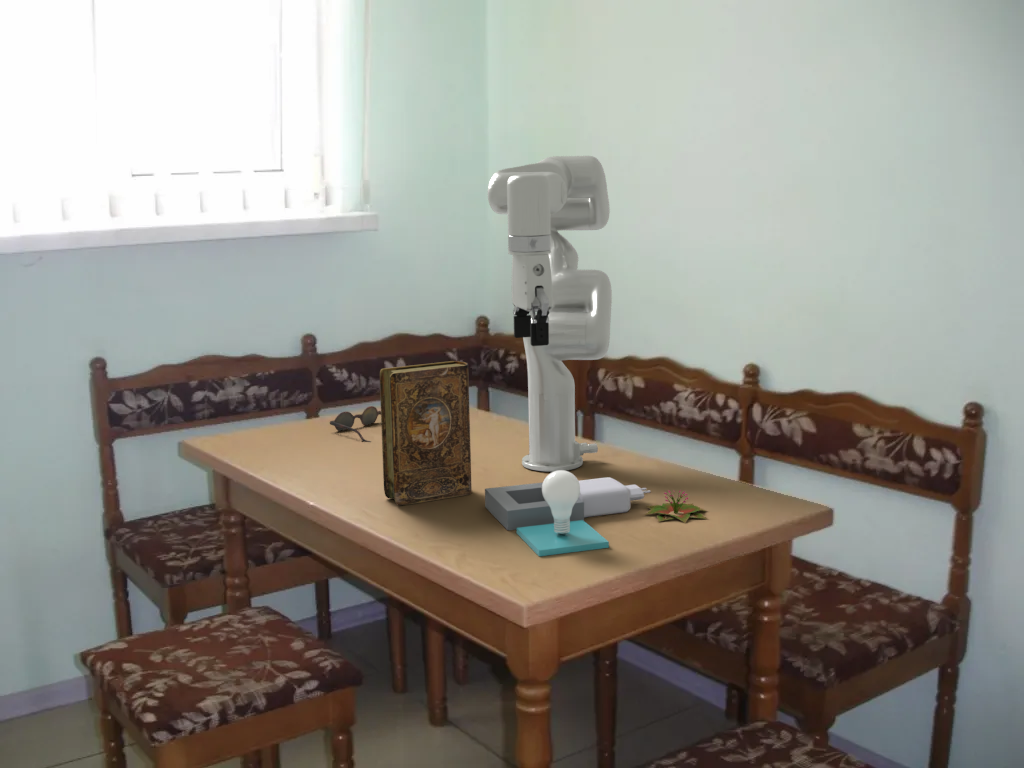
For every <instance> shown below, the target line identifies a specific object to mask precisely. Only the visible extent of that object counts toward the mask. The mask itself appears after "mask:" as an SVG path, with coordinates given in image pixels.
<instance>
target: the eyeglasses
mask: <svg viewBox="0 0 1024 768" xmlns="http://www.w3.org/2000/svg"><path fill="white" fill-rule="evenodd" d="M379 415H380V416H381V410H378V409H377V407H376V406H373V405H372V406H367V407H366V408H365V409H364V410H363V411H362V413H361V414H355V415H353V414H352V413H351V412H350V411H341V412H340V413H338V415H337V416H336V417H335V419H334V420H329V425H330V426H334V428H335V430H337V431H338V432H341V430H342V431H346V429H348V430H349V431H351V432H355V433H356V434H357V435H358V436H359V438H360V440H361V441H362V442H364V443H372V441H371V440H367V439H365V438H364V437H363V436H362V434H361V431H359V430H357V429H355V428H352V427H353V426H354V424H355V419H356V418H357V419H359V420H360V421H361V424H362V426H364V425H366V426H368V424H369V425H372V424H371V423H374V424H375V423H376V421H377V419H378V417H379Z"/></svg>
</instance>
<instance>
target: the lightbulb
mask: <svg viewBox="0 0 1024 768" xmlns="http://www.w3.org/2000/svg"><path fill="white" fill-rule="evenodd" d="M579 481H580V480H579V479H578V478H577V476H576V475H574V473H573V472H570V471H569V470H566V471H565V470H557V471H554V472H550V473H549V474H547V475H546V477H544V479H543V481H542V482H543V484H542V494H543V497H544V499H545V501H546V502H547V504H548V505H549V507H550V509H551V512H552V516H553V517H554V526H555V527H554V532H556V533H557V534H559V535H565V534H567V533H568V532H570V516H571V513H572V508H573V506H574V504H575V503H576V501H577V500H578V498H579V495H580V484H579Z"/></svg>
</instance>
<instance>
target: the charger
mask: <svg viewBox="0 0 1024 768" xmlns="http://www.w3.org/2000/svg"><path fill="white" fill-rule="evenodd" d="M578 481H579V484H580V495H579V499H581V500H582V501H583V502H584V519H585V518H590V517H601V516H605V515H607V516H608V515H614V514H622V513H627V512H628V511H629V510H630V509H631V502H634V501H641V500H643V499H644V498H645V494H648V493H651V491H652V490H650V489H649V490H647V487H642V488H641V487H639V486H638V485H637V484H629V485H624V484H623V483H622V482H620V481H619V480H616V479H615V478H613V477H610V476H609V477H607V476H606V477H599V478H592V479H591V478H590V479H584V480H582V479H581V480H578Z"/></svg>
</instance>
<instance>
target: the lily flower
mask: <svg viewBox="0 0 1024 768" xmlns="http://www.w3.org/2000/svg"><path fill="white" fill-rule="evenodd" d="M667 492H668V493H669V494H668V493H667ZM667 492H663V494H665V496H664V497H665V502H663V503H662V504H655V505H645V507H646V508H649V510H648V511H647V513H644V514H643V515H645V516H646V515H651V514H657V516H656V518H657V523H658V522H663V521H668V520H676V519H677V520H680V521H681V522H683V523H684V524H686V523H687V521H688V519H692V518H693V519H702V520H703V519H705V520H708V518H707V517H706V516H705V515H704V514H702V513H700V512H707V510H705V509H704V508H701V507H699V506H697V505H695V504H694V503H686V502H687V500H688V499H689V497H686V498H685V499H684V500H683V501H682V502H681V499H682V498H683V497H685V496H688V493H686V491H682V493H680V492H681V490H679V492H678V495H677V499H675V496H674V495H673V493H672V492H671V491H670V490H669V489H668V490H667ZM673 492H674V494H676V493H675V491H673ZM684 493H685V494H684ZM667 496H668V497H669V498H668V497H667ZM670 499H671V500H672V501H670ZM672 512H673V513H674V514H670V513H672ZM698 512H699V513H698ZM678 513H681V514H679V515H677V514H678ZM666 515H668V516H670V518H669V517H668V518H667V516H666Z"/></svg>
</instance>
